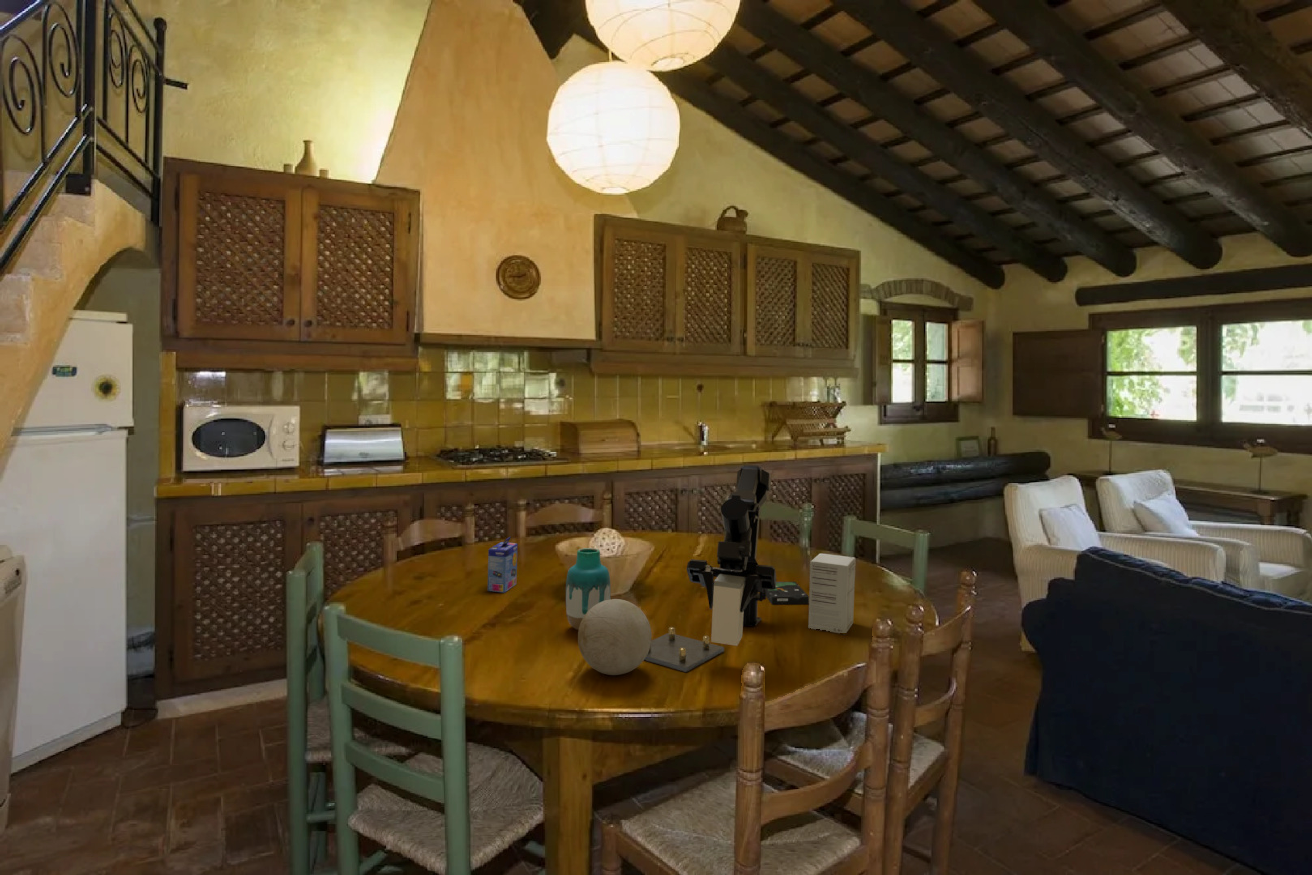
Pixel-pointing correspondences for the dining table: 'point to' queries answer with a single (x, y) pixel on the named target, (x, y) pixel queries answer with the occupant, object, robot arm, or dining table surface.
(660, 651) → the plate
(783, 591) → the disk drive
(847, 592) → the supplement box
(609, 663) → the decorative sphere
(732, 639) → the module box
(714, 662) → the dining table surface
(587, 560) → the vase
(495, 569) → the ink cartridge box
